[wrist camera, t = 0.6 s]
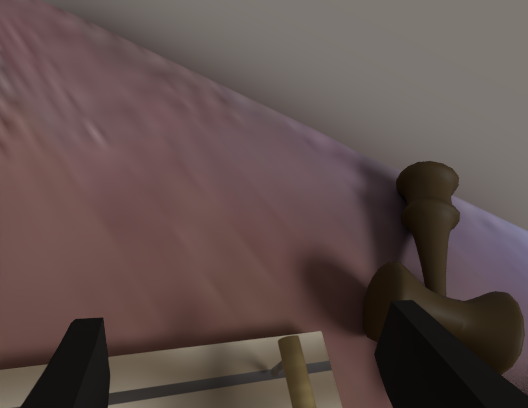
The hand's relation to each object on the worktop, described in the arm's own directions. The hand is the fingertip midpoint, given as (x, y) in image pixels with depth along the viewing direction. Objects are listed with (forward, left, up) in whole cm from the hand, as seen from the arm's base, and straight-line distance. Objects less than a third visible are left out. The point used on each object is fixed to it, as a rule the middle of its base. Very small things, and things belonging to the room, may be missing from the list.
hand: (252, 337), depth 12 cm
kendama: (+7, -21, -18) cm, 28 cm away
